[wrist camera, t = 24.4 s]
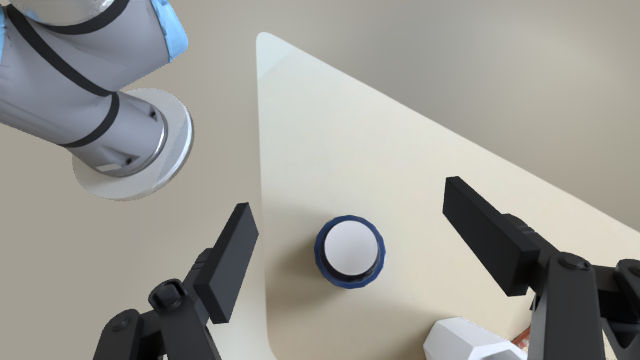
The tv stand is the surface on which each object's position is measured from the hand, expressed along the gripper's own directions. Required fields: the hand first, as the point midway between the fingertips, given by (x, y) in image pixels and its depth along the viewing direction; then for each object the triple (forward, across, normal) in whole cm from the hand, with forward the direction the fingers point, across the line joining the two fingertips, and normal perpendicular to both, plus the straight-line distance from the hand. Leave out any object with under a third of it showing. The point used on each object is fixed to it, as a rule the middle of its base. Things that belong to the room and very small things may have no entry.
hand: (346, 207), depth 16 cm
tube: (+12, 0, -16) cm, 20 cm away
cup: (+13, 0, -16) cm, 20 cm away
